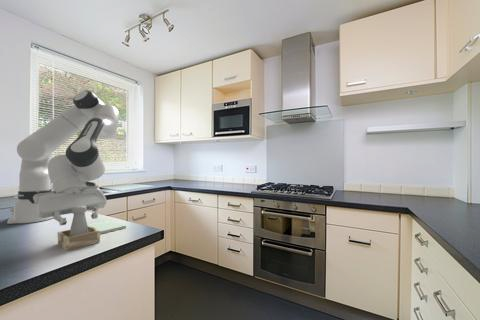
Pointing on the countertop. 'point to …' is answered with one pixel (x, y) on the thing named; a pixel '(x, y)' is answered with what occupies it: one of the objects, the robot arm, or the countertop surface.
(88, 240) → the wooden box
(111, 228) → the sage mat
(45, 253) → the countertop surface
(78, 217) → the salt shaker
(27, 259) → the countertop surface
